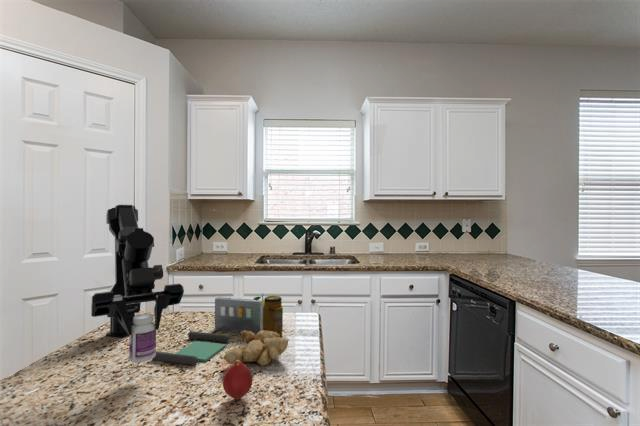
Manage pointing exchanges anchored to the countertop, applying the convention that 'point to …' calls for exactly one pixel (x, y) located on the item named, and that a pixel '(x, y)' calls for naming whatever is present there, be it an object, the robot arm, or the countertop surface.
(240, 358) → the ginger root
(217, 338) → the dark grey rod
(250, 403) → the countertop surface
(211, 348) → the pad
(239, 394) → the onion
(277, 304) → the condiment
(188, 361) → the dark grey rounded rod
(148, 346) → the pill bottle
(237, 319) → the gray printed box
